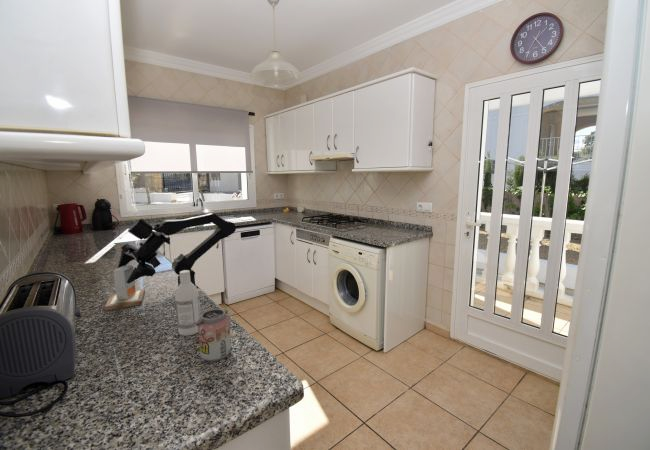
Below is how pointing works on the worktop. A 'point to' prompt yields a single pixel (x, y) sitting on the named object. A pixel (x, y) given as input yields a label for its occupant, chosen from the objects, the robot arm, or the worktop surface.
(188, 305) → the bath foam
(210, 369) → the worktop surface
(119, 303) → the wooden picture frame
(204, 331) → the beverage can
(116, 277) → the skincare box
